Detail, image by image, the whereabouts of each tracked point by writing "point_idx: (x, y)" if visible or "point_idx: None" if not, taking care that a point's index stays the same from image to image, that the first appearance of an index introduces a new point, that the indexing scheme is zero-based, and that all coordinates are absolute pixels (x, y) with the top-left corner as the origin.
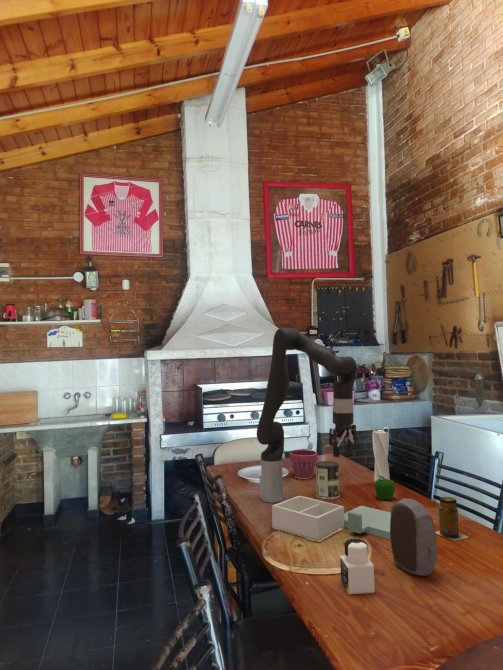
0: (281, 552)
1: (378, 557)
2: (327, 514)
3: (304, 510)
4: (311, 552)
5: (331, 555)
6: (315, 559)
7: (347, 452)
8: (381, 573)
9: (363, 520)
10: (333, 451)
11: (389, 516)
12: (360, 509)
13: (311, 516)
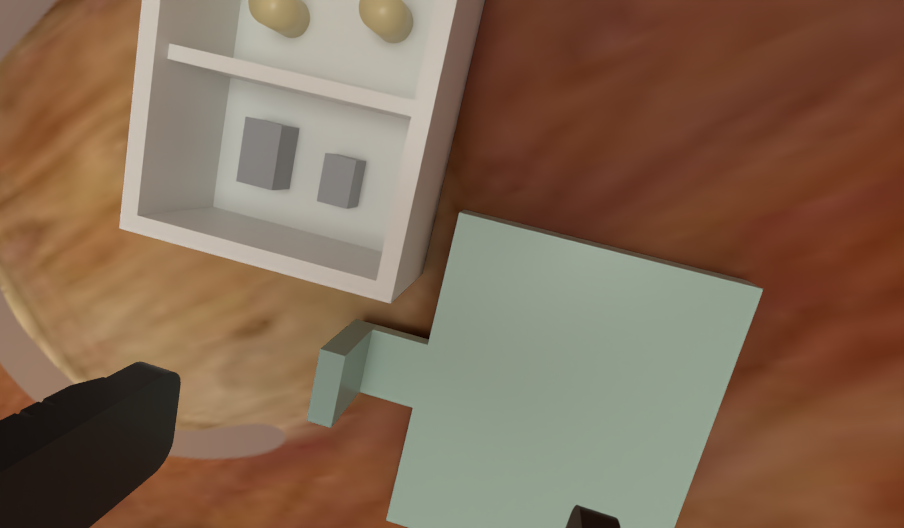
0: (42, 111)
1: (209, 475)
2: (216, 254)
3: (250, 74)
4: (110, 227)
5: (130, 311)
6: (67, 267)
7: (571, 517)
8: None
9: (486, 369)
10: (16, 419)
11: (616, 483)
12: (676, 306)
13: (124, 185)
